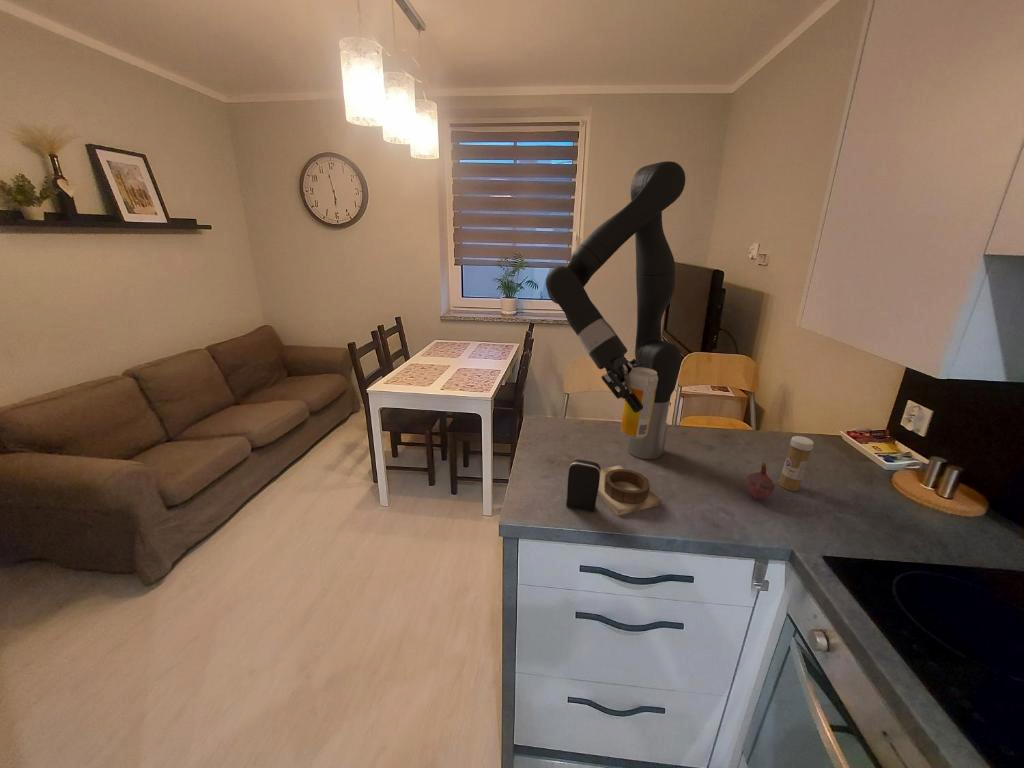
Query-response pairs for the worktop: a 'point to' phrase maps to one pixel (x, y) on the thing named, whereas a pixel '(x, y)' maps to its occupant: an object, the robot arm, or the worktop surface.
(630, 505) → the collar board
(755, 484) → the vegetable
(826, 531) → the worktop surface
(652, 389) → the beer can
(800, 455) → the sprinkles bottle
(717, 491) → the worktop surface
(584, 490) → the battery charger
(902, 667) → the worktop surface
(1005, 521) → the worktop surface
